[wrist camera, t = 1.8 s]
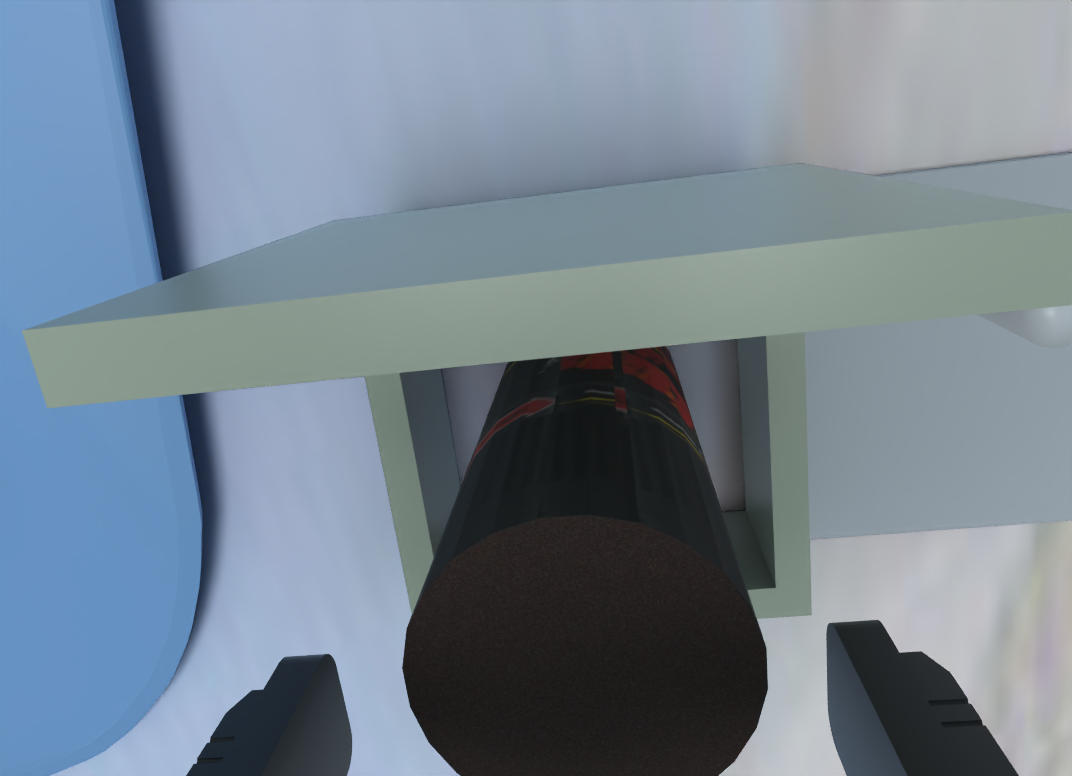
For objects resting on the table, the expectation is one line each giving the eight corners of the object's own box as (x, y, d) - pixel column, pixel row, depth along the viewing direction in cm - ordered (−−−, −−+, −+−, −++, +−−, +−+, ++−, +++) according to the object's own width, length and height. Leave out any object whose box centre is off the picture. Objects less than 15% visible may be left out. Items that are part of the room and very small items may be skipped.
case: (382, 203, 26) (21, 330, 10) (787, 152, 24) (1161, 202, 8) (445, 558, 30) (266, 1071, 14) (798, 531, 28) (1066, 1069, 12)
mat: (778, 187, 25) (783, 188, 24) (1196, 137, 23) (1211, 137, 23) (789, 532, 28) (793, 540, 28) (1152, 505, 27) (1164, 513, 26)
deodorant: (693, 451, 28) (795, 795, 13) (527, 484, 28) (458, 840, 14) (658, 286, 26) (733, 479, 12) (483, 327, 27) (355, 554, 13)
